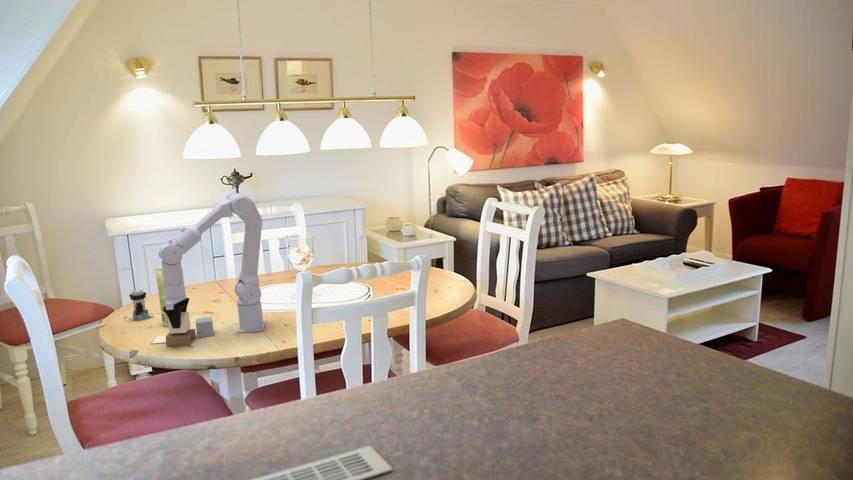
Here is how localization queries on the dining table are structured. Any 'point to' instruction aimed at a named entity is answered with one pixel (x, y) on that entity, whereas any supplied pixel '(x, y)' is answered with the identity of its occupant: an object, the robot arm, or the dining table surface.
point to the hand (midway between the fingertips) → (179, 325)
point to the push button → (139, 305)
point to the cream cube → (184, 324)
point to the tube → (161, 295)
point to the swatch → (159, 340)
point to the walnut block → (180, 338)
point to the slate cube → (204, 327)
